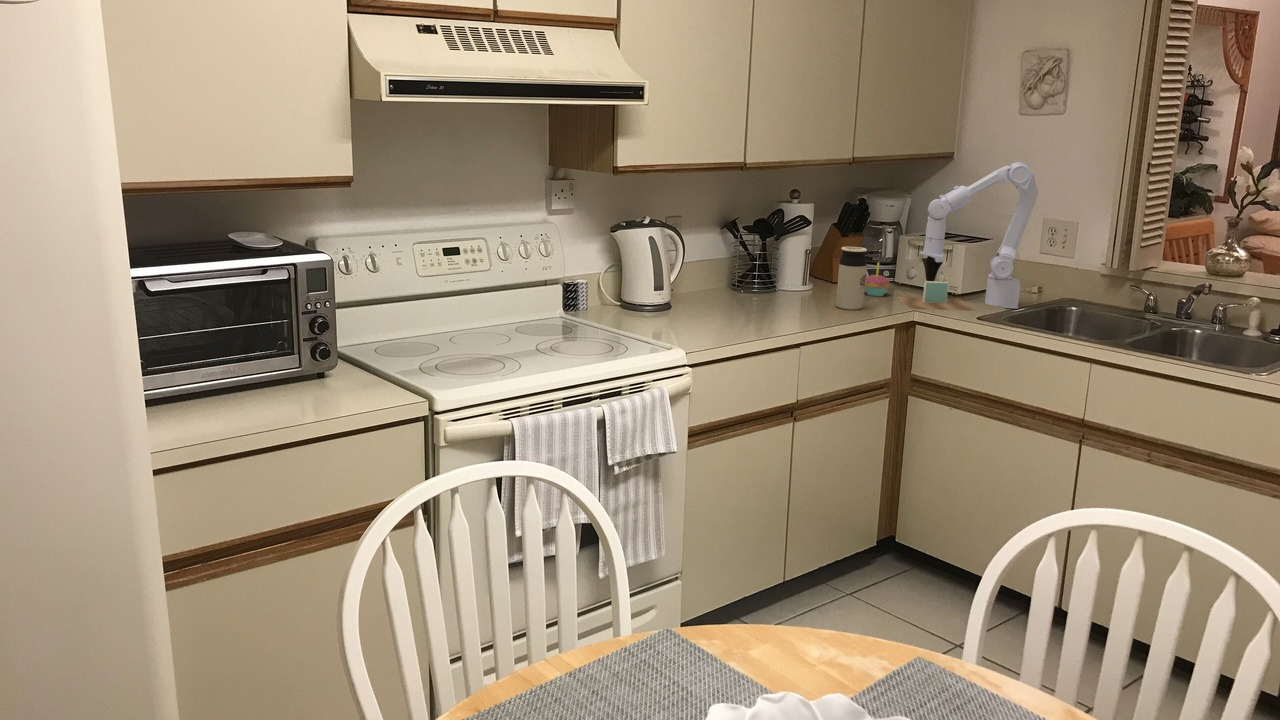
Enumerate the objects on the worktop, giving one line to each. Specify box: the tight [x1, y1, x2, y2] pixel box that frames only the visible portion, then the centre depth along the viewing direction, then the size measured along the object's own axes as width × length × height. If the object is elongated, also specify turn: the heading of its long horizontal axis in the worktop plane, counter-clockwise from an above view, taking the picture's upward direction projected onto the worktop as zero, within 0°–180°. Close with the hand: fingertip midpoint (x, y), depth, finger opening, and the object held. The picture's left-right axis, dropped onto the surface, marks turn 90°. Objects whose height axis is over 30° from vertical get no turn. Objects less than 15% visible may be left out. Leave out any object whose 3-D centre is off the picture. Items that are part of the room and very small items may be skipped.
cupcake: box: [864, 260, 891, 297], centre depth 323 cm, size 9×8×12 cm
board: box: [896, 296, 978, 312], centre depth 313 cm, size 20×18×1 cm
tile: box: [922, 280, 949, 303], centre depth 313 cm, size 7×2×6 cm, turn 90°
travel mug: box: [835, 246, 868, 311], centre depth 305 cm, size 8×8×18 cm
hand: (930, 281), depth 319 cm, fingers closed
